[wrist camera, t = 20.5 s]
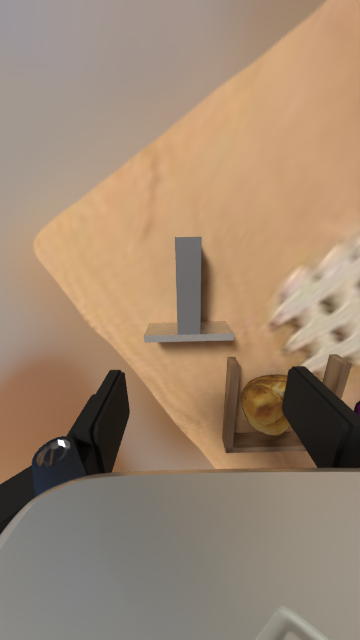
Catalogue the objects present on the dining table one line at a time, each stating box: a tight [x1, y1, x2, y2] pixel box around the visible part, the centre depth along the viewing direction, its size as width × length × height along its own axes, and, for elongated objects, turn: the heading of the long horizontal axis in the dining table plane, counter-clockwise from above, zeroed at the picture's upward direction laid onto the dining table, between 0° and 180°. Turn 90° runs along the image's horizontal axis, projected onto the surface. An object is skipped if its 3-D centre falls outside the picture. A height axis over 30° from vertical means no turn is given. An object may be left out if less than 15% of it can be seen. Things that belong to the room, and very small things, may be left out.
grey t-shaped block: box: [144, 237, 234, 342], centre depth 27 cm, size 12×13×5 cm
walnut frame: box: [222, 355, 352, 453], centre depth 34 cm, size 18×18×3 cm
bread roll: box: [240, 375, 291, 436], centre depth 32 cm, size 13×10×8 cm
